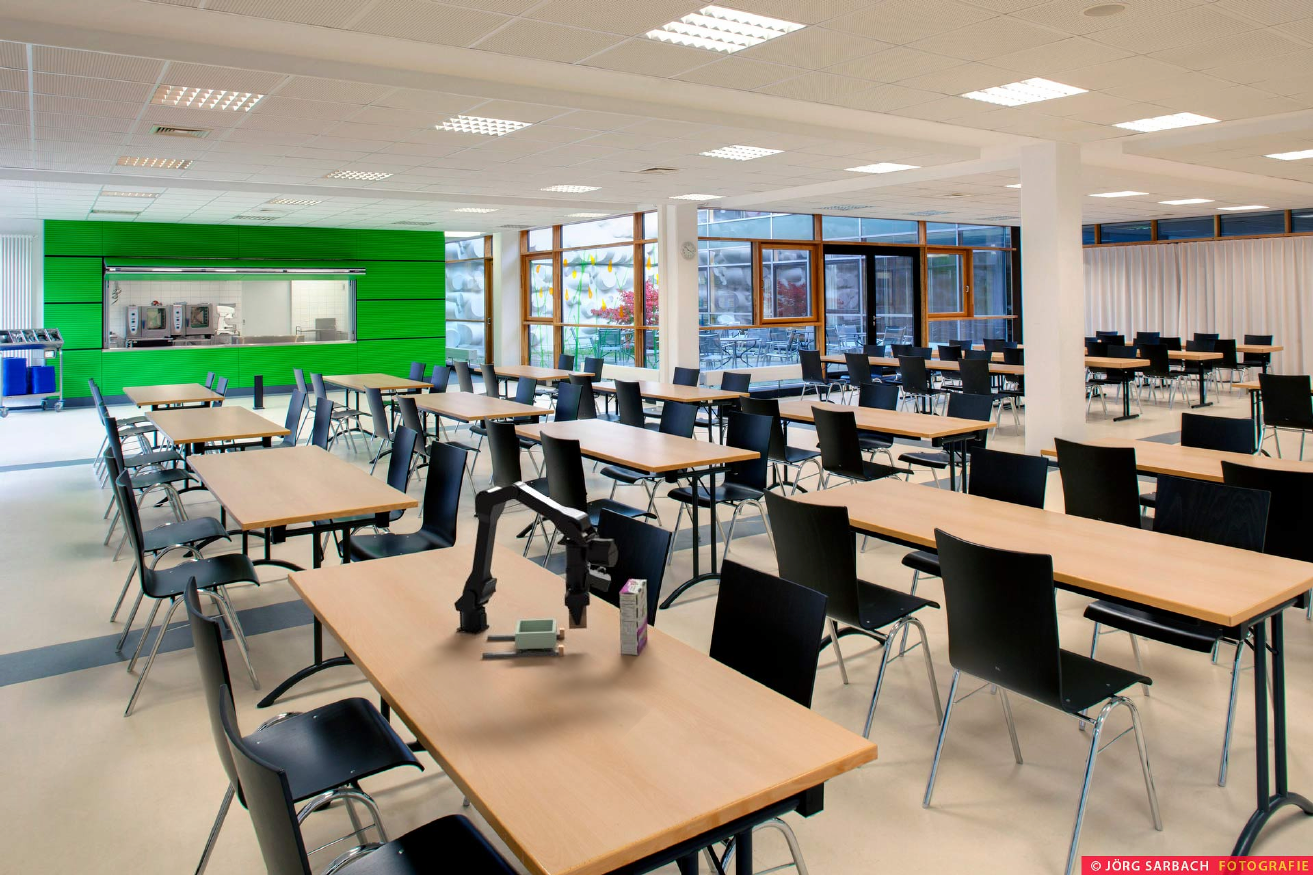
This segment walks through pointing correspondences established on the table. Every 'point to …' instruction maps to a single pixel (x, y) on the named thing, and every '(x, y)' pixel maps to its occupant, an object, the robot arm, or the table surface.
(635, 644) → the candy bar box
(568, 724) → the table surface
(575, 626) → the walnut block
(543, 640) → the sage green storage bin
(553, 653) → the rails
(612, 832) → the table surface
